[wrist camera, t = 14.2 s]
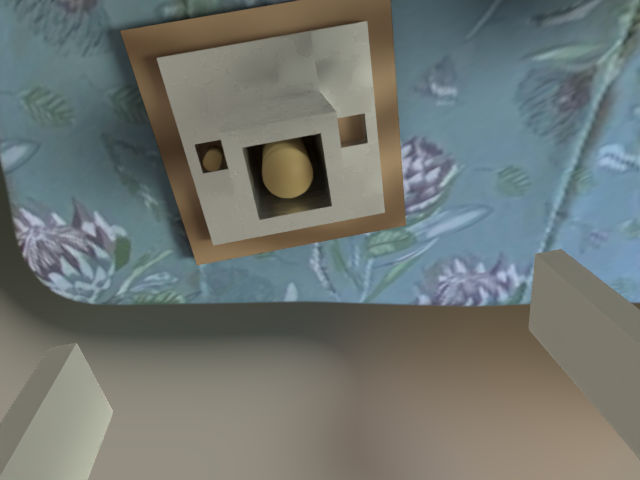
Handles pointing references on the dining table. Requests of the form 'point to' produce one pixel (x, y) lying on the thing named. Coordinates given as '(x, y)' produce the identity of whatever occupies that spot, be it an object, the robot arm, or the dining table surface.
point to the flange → (278, 127)
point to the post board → (347, 126)
